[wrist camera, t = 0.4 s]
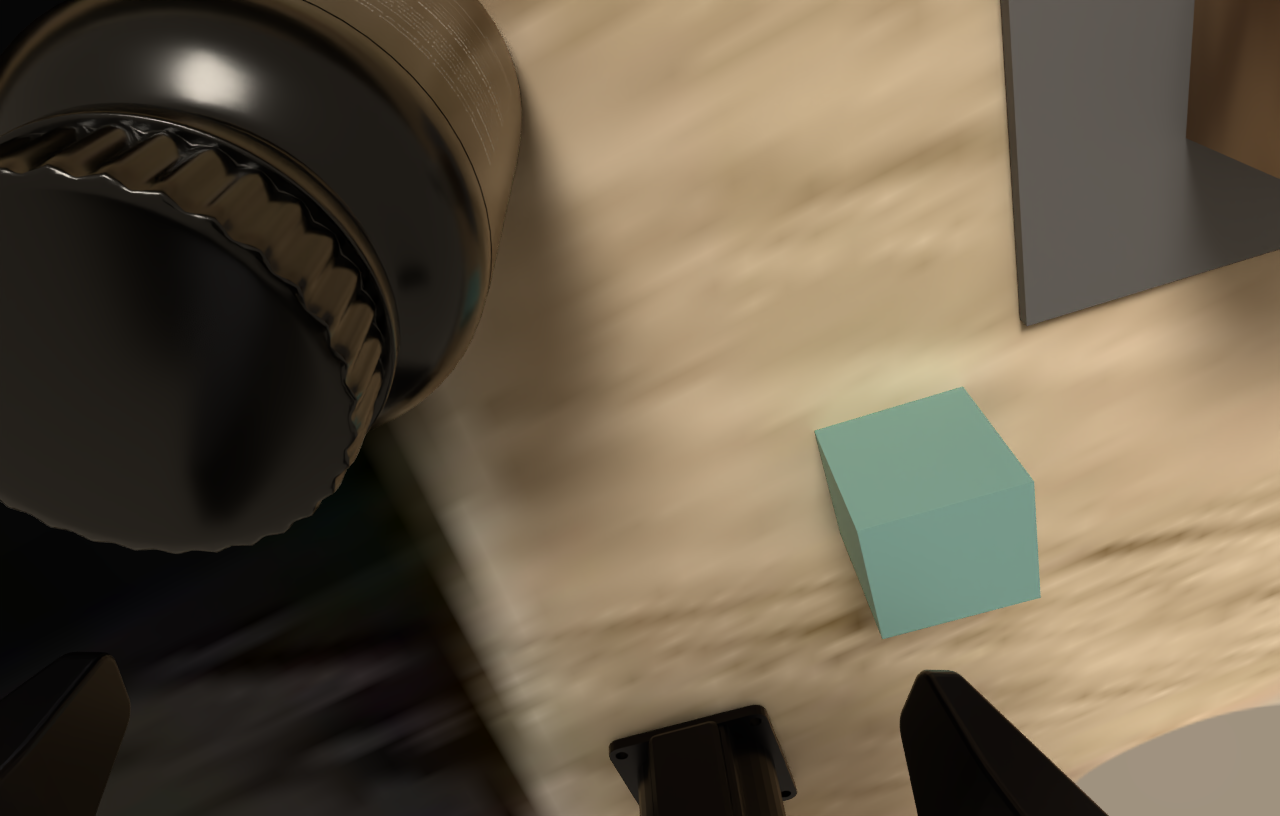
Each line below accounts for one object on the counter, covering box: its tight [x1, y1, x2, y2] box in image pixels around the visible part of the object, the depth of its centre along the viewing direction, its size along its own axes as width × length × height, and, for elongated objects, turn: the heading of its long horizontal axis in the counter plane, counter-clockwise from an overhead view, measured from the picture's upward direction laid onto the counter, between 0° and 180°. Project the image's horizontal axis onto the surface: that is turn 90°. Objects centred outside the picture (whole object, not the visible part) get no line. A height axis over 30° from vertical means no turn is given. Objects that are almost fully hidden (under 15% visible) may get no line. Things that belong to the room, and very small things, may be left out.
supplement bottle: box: [0, 0, 522, 554], centre depth 13 cm, size 7×7×12 cm
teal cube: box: [815, 387, 1041, 639], centre depth 23 cm, size 4×4×4 cm
